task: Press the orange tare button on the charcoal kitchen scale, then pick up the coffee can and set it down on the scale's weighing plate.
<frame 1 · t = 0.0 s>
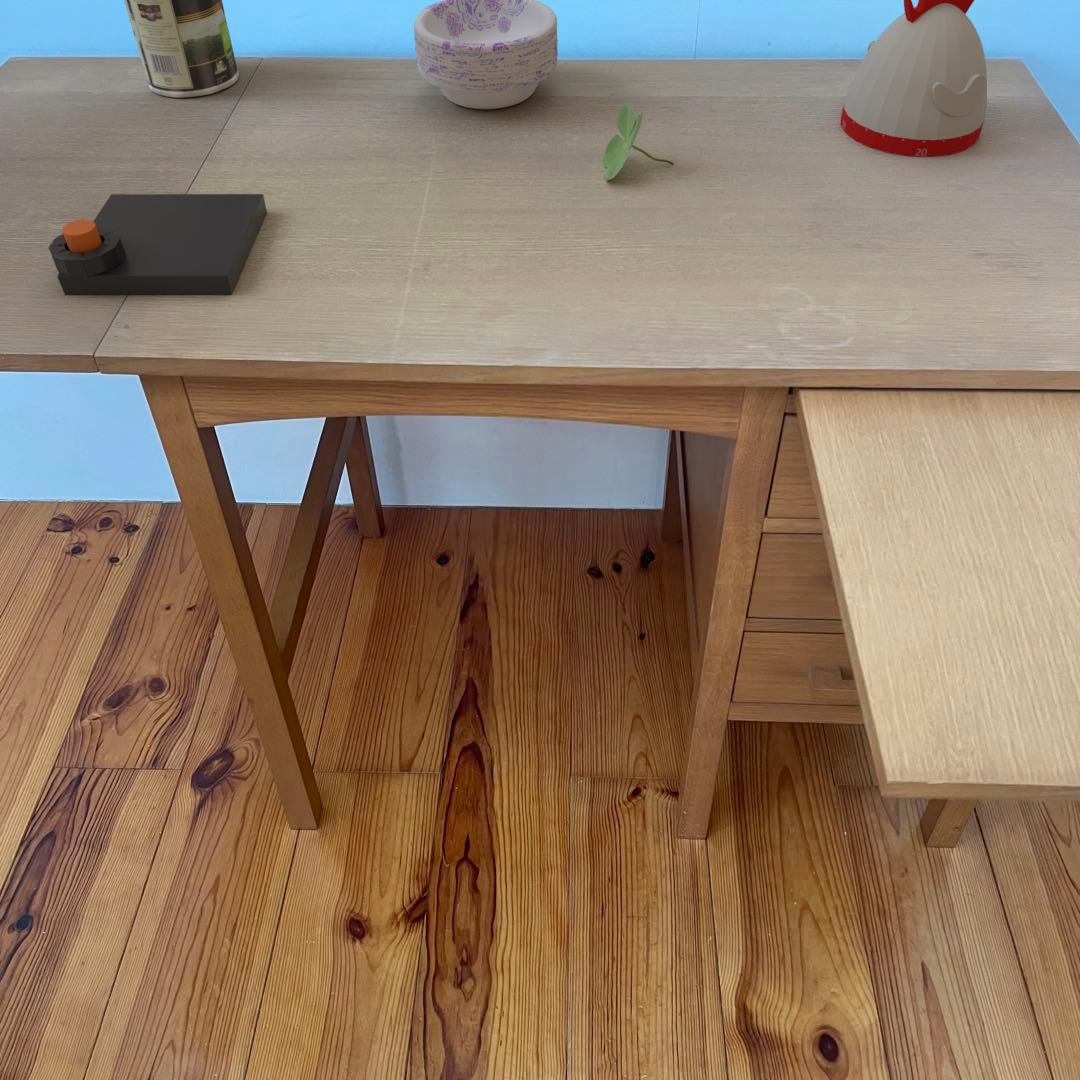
tare button: (82, 236, 82), point 4 cm above the table, slide at 0.1 cm
coffee can: (194, 82, 115), on the table
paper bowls: (489, 95, 111), on the table
seedling: (632, 174, 98), on the table
scale: (171, 252, 88), on the table
kitchen timer: (908, 128, 104), on the table
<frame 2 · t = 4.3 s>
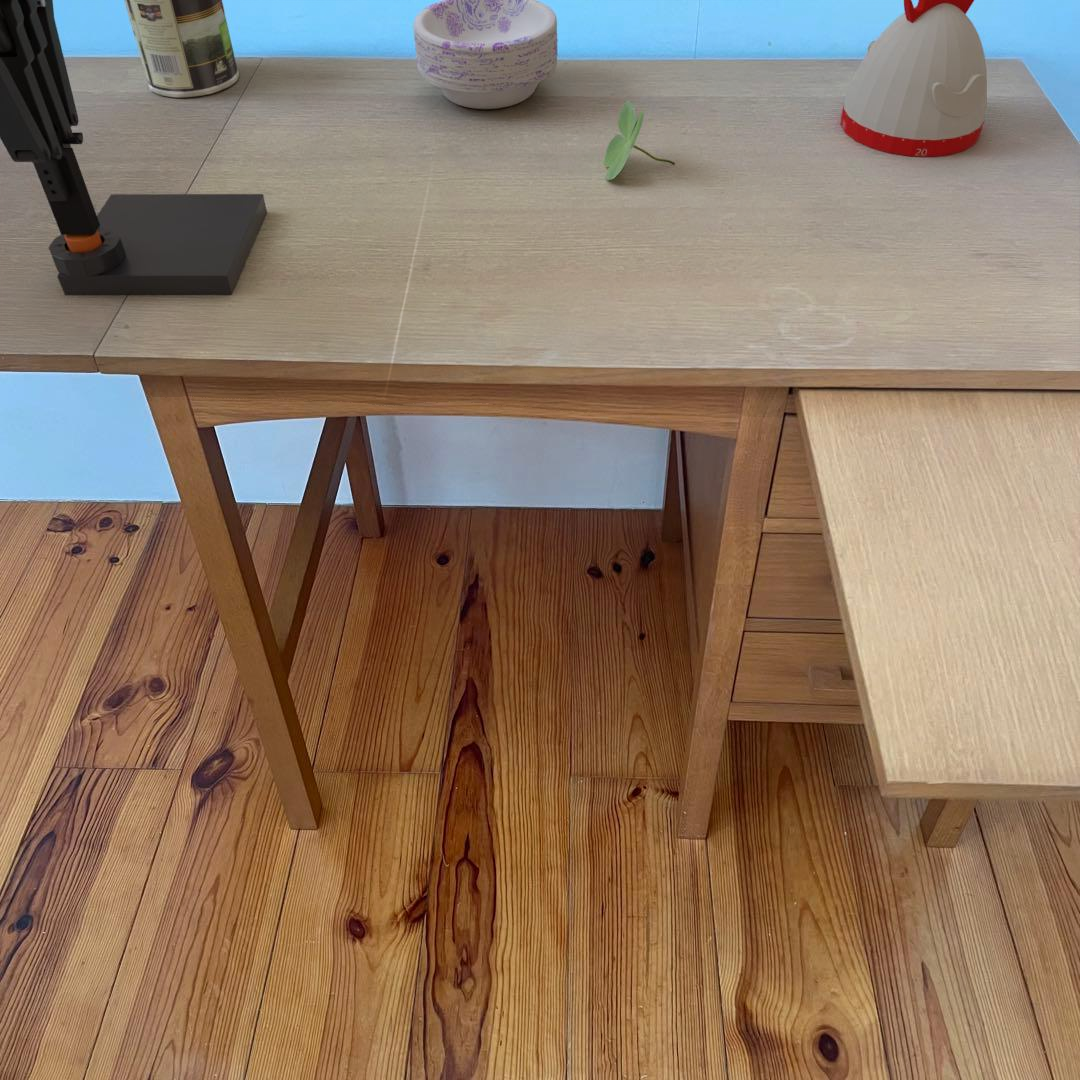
hand: (80, 229, 82), 5 cm above the table, tool pointing down, fingers closed
tare button: (84, 242, 82), point 3 cm above the table, slide at -0.4 cm, touching gripper
everything else where it was.
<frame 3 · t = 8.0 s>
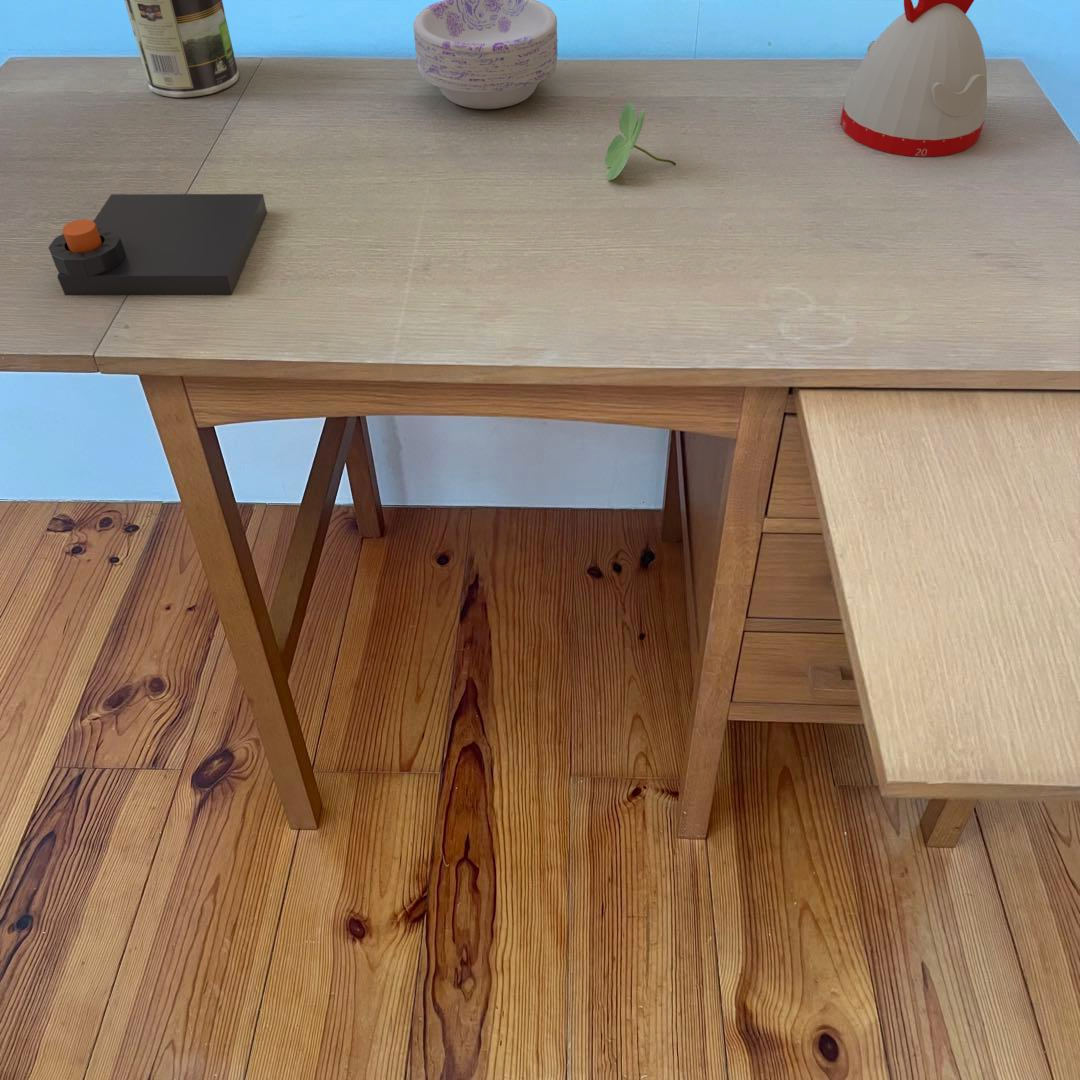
tare button: (82, 236, 82), point 4 cm above the table, slide at 0.1 cm
everything else where it was.
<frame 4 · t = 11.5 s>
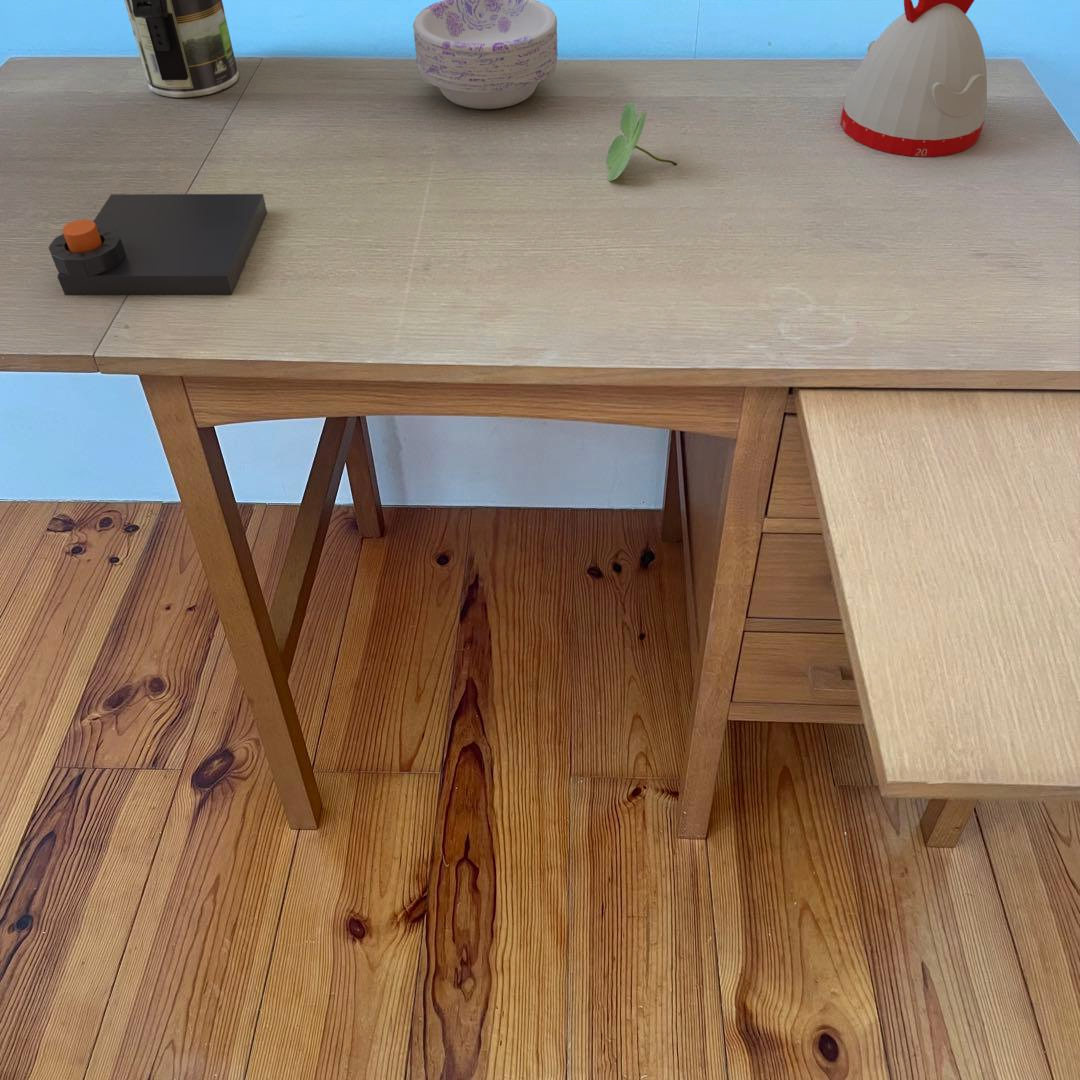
hand: (188, 59, 113), 2 cm above the table, tool pointing down, fingers closed on coffee can, 10 cm apart
coffee can: (194, 82, 115), on the table, touching gripper
everything else where it was.
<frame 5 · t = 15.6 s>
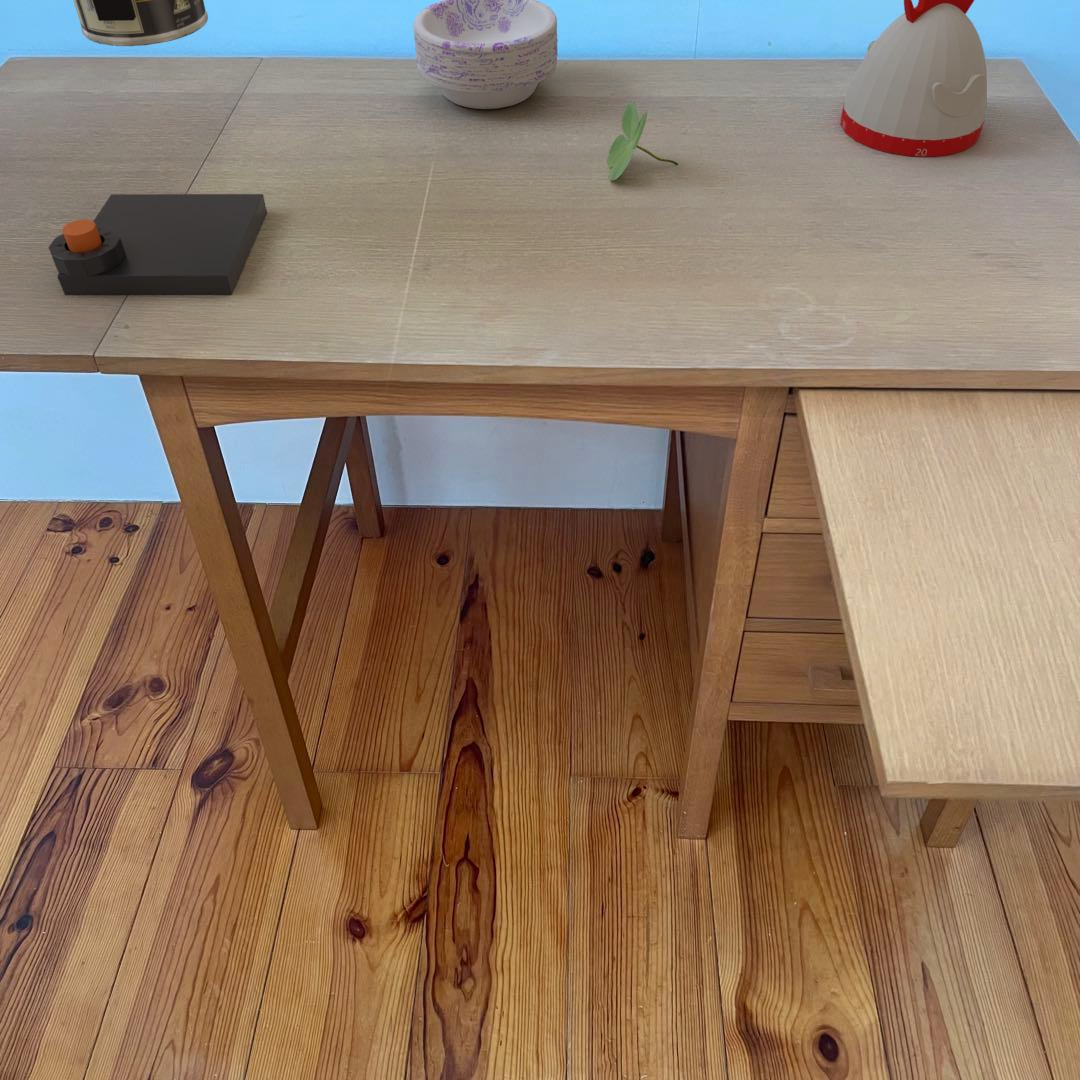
coffee can: (146, 27, 84), point 15 cm above the table, touching gripper
everything else where it was.
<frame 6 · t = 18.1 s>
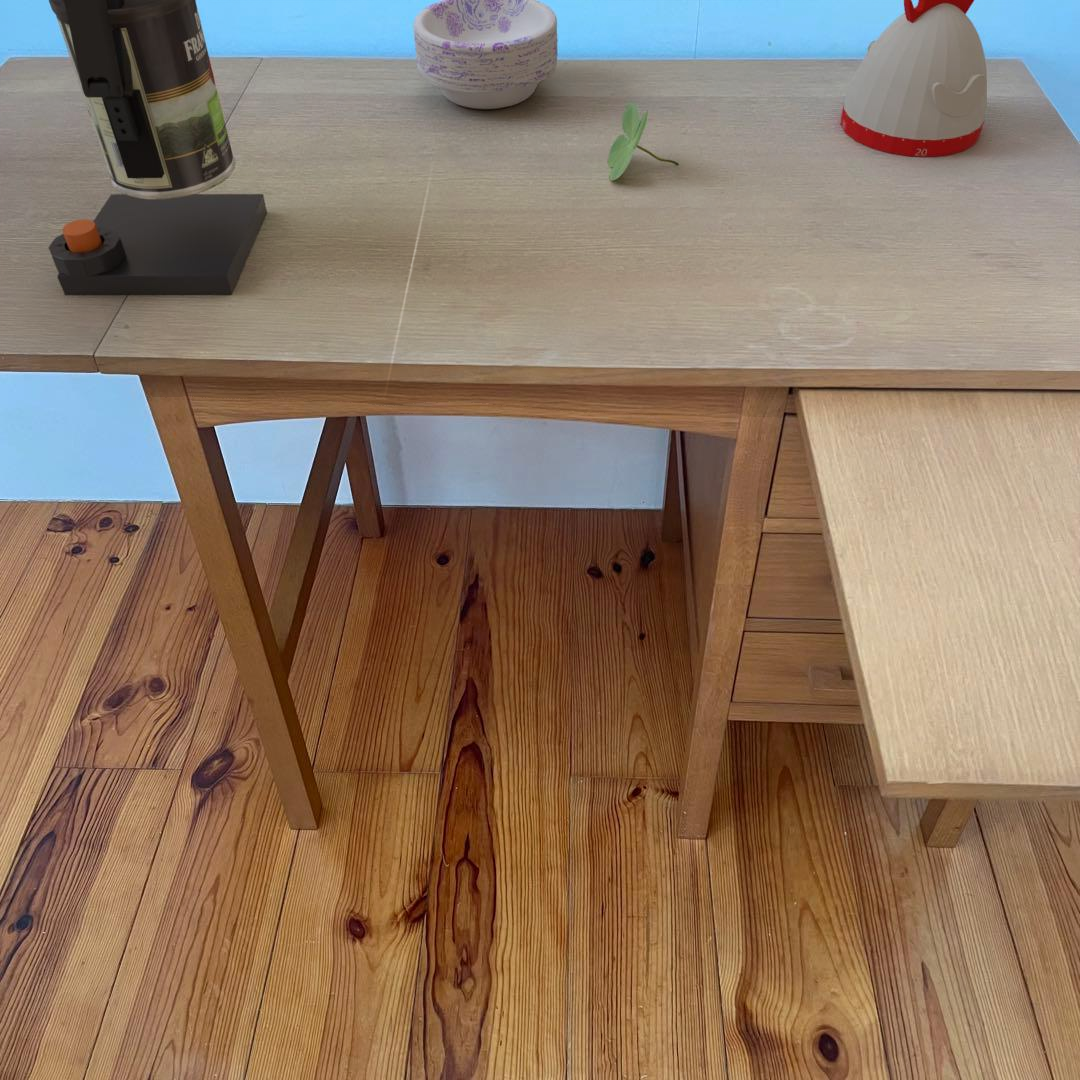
hand: (165, 145, 83), 9 cm above the table, tool pointing down, fingers closed on coffee can, 10 cm apart
coffee can: (174, 173, 84), point 6 cm above the table, touching gripper
everything else where it was.
when the fingers open (4 cm above the table, at t = 20.1 s): coffee can stays where it is, resting on scale.
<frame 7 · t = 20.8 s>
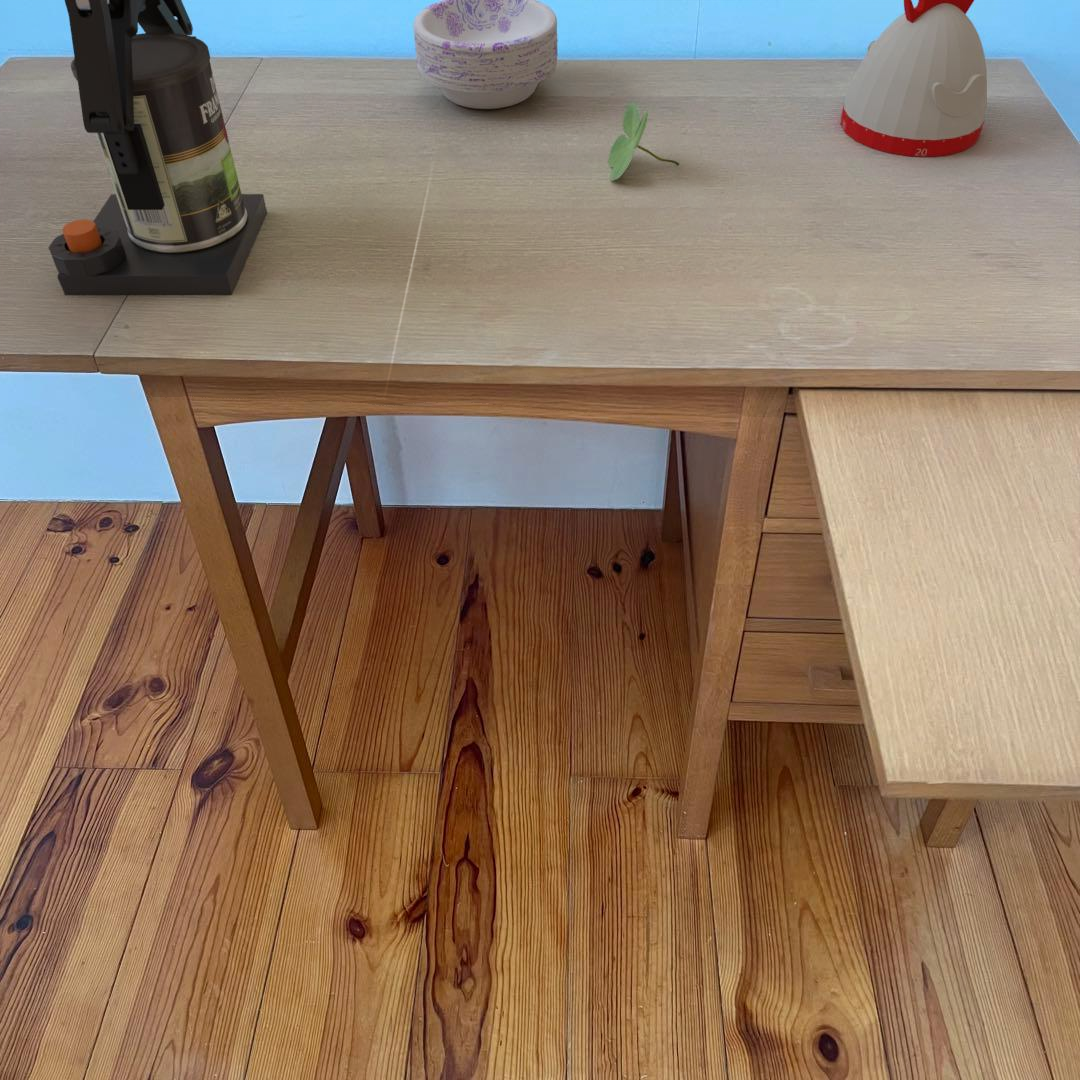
hand: (170, 168, 84), 7 cm above the table, tool pointing down, fingers open, 13 cm apart
coffee can: (188, 225, 88), point 2 cm above the table, touching scale
everything else where it was.
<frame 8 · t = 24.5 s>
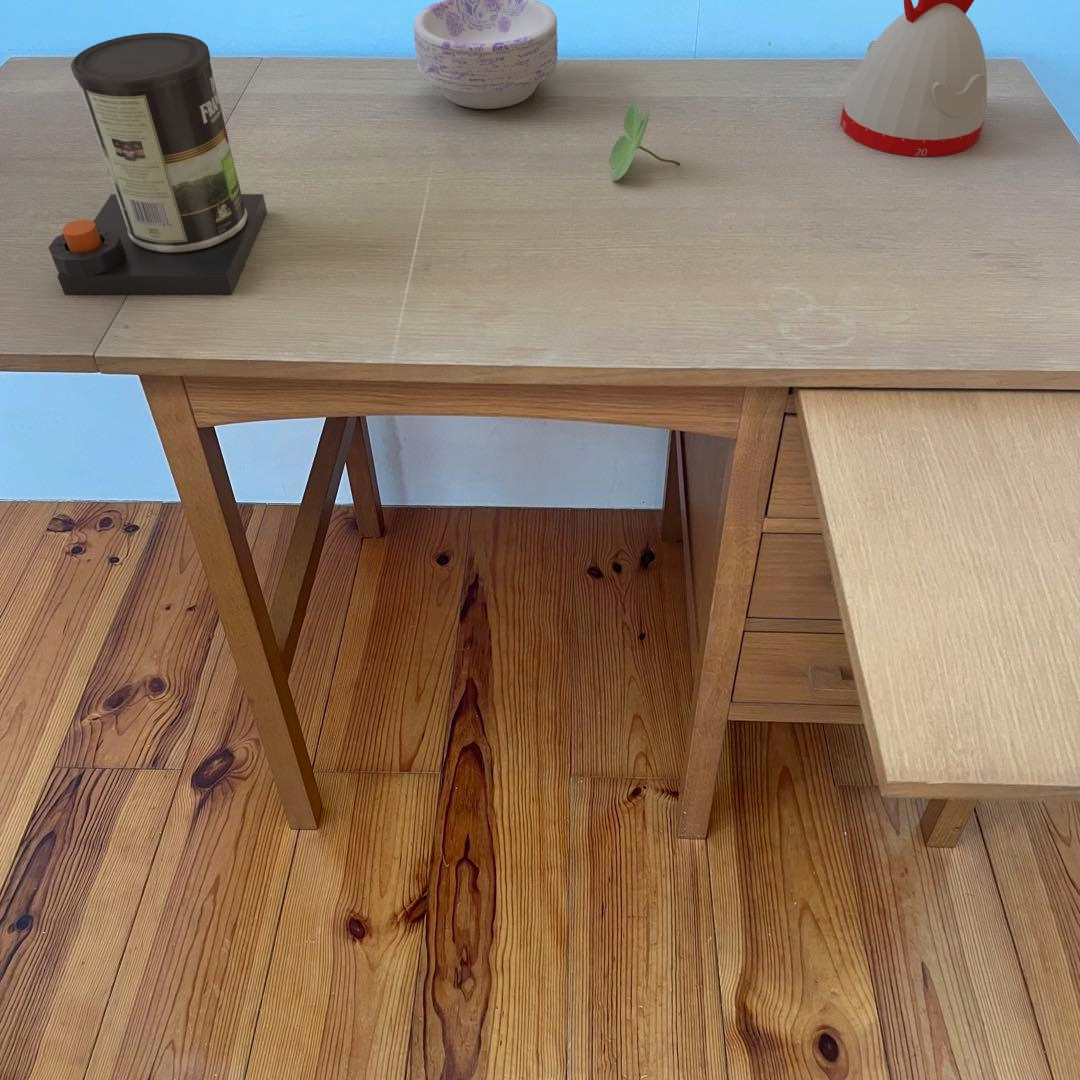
nothing on the table moved.
at the end: tare button pushed in 0.8 cm at the most during the clip, back to where it started at the end; coffee can inside the target area on the scale (0.0 cm from its centre), point 1.7 cm above the scale's base; coffee can tilted 0° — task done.
